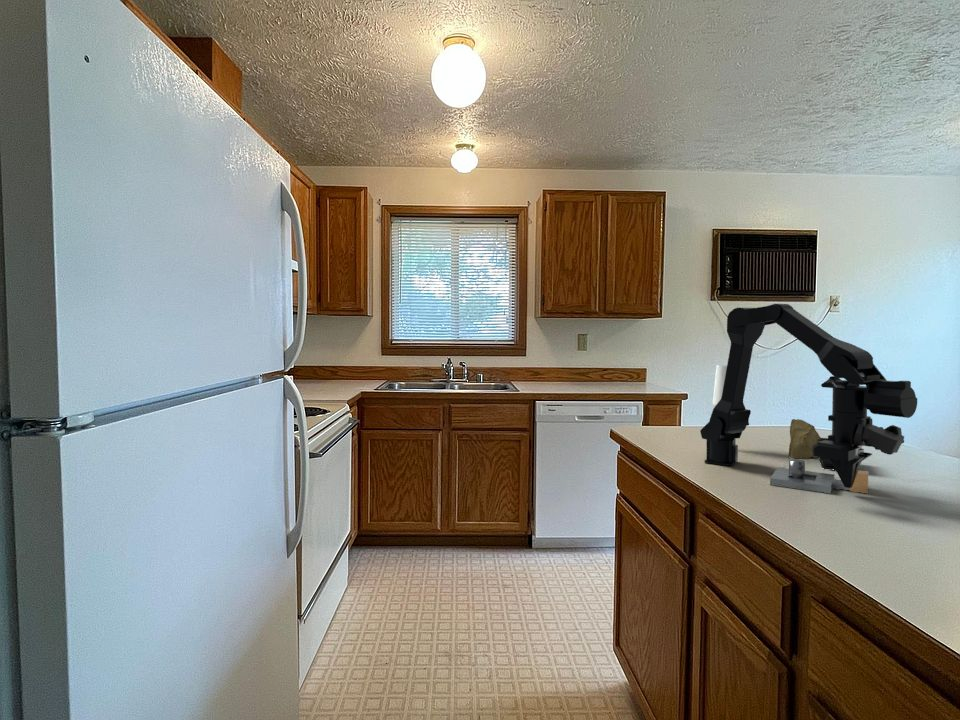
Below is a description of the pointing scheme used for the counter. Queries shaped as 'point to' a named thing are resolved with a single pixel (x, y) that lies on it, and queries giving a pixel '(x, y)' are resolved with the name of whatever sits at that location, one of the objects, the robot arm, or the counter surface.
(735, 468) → the counter surface
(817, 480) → the flange plate
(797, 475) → the post
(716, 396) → the champagne flute
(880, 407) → the robot arm
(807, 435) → the rock
